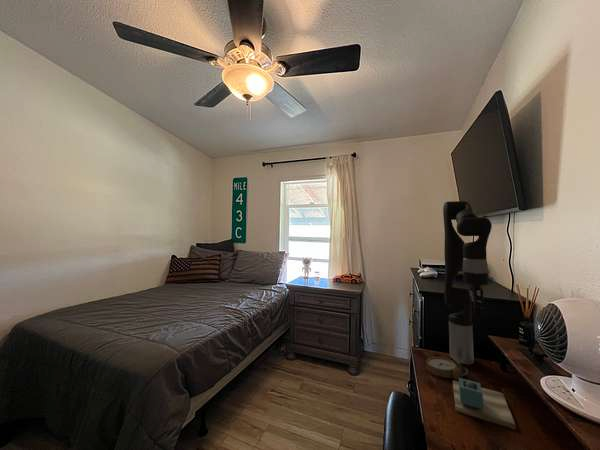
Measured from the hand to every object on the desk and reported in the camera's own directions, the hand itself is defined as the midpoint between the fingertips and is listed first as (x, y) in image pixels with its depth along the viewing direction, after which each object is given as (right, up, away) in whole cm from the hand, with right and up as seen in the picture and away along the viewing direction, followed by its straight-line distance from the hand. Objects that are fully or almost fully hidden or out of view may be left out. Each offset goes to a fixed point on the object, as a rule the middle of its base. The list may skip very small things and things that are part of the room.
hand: (476, 314), depth 87 cm
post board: (-4, -29, -6) cm, 30 cm away
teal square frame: (-8, -26, -8) cm, 29 cm away
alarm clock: (-4, -30, +12) cm, 33 cm away
